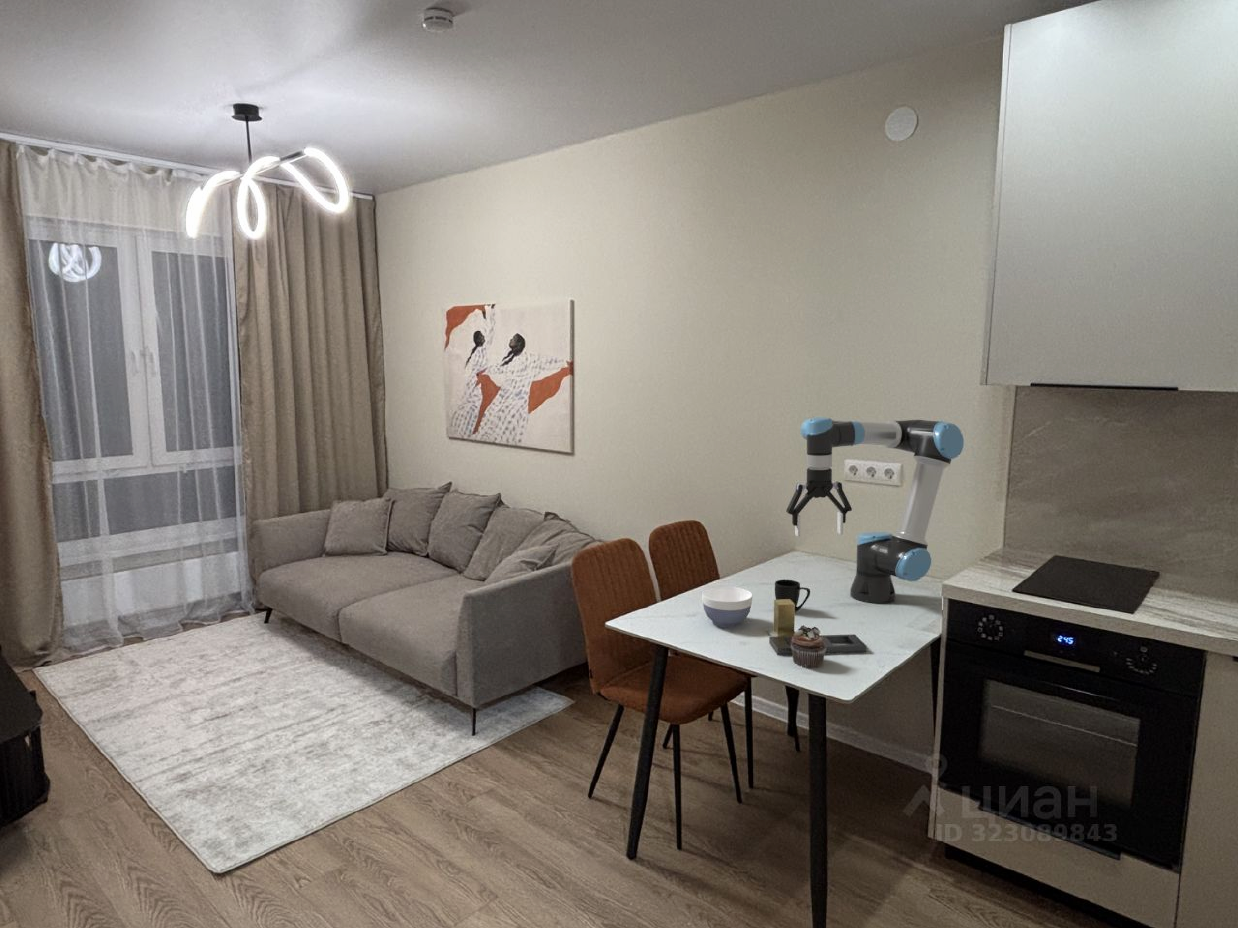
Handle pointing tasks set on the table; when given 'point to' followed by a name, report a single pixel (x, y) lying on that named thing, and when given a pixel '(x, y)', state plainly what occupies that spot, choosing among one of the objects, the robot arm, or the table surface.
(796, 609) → the mug
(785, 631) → the tan wooden peg
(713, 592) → the bowl
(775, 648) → the dark grey peg board
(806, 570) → the table surface
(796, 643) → the cupcake
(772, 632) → the pad
